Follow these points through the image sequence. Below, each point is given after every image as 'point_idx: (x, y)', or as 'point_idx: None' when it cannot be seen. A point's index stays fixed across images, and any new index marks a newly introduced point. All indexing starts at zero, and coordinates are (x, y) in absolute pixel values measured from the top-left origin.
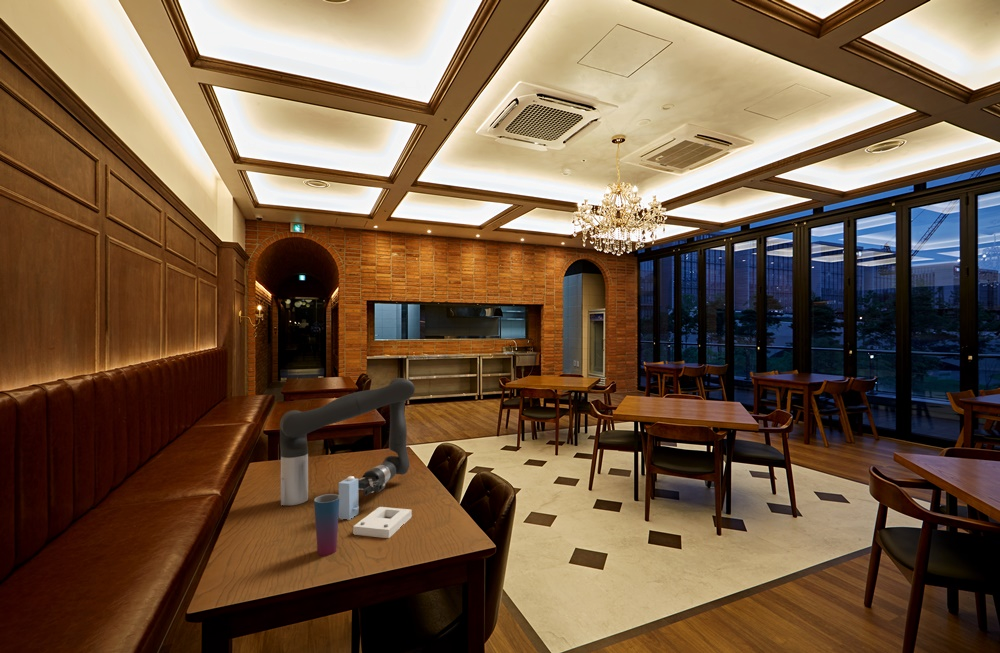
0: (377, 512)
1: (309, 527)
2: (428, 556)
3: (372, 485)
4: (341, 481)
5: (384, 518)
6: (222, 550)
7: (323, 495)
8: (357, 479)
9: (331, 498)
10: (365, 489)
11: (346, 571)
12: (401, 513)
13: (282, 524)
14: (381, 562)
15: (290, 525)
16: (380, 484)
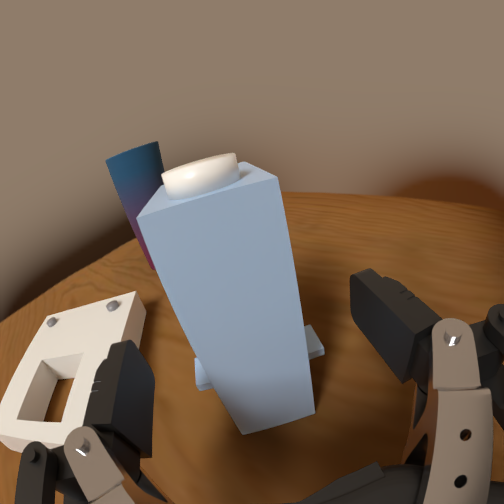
0: (86, 386)
1: (318, 272)
2: (12, 318)
3: (74, 437)
4: (249, 164)
5: (57, 355)
6: (351, 194)
7: (147, 144)
8: (141, 217)
9: (132, 159)
10: (112, 343)
11: (110, 258)
12: (13, 399)
13: (403, 242)
14: (68, 285)
15: (380, 250)
16: (20, 486)
